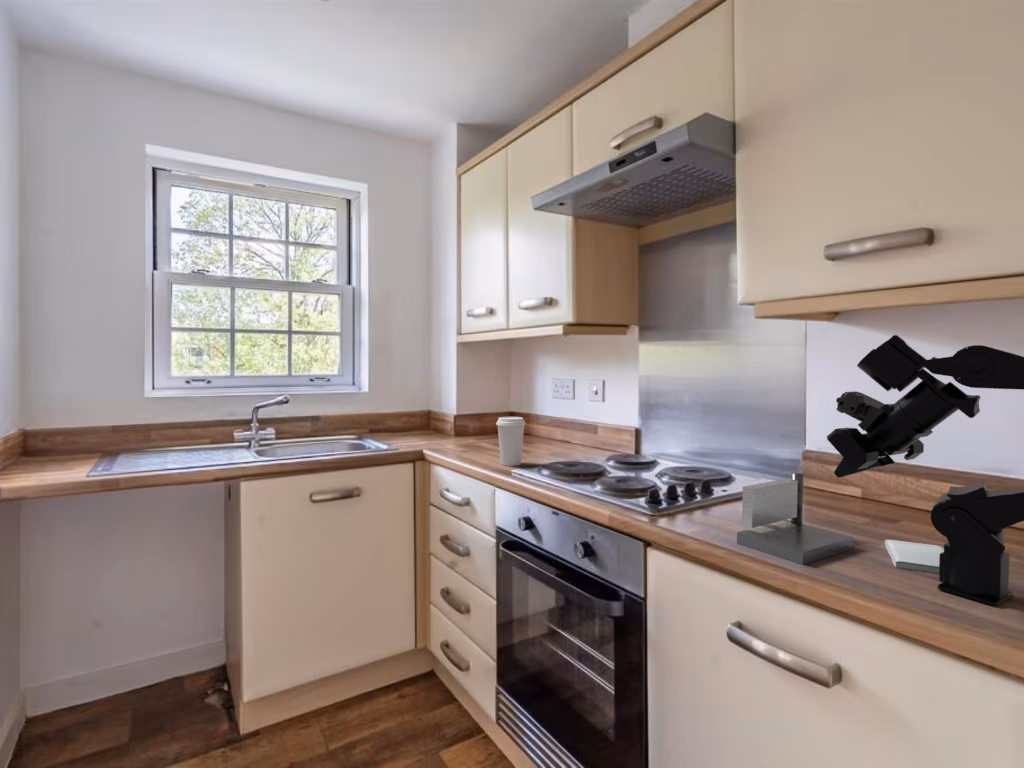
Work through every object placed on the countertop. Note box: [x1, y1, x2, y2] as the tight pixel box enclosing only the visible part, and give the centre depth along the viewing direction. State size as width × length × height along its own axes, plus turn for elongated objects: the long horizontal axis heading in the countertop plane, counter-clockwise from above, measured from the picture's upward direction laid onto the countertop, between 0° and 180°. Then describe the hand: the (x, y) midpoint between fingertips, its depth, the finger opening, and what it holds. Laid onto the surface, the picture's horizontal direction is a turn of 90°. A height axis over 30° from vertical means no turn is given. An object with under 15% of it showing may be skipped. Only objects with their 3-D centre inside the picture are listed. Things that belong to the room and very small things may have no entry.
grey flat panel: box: [741, 478, 798, 528], centre depth 98 cm, size 14×2×7 cm, turn 121°
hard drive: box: [884, 539, 944, 575], centre depth 87 cm, size 2×8×12 cm
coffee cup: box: [495, 416, 527, 467], centre depth 173 cm, size 10×10×15 cm
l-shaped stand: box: [736, 471, 854, 566], centre depth 94 cm, size 12×18×11 cm
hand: (836, 475), depth 89 cm, fingers closed
